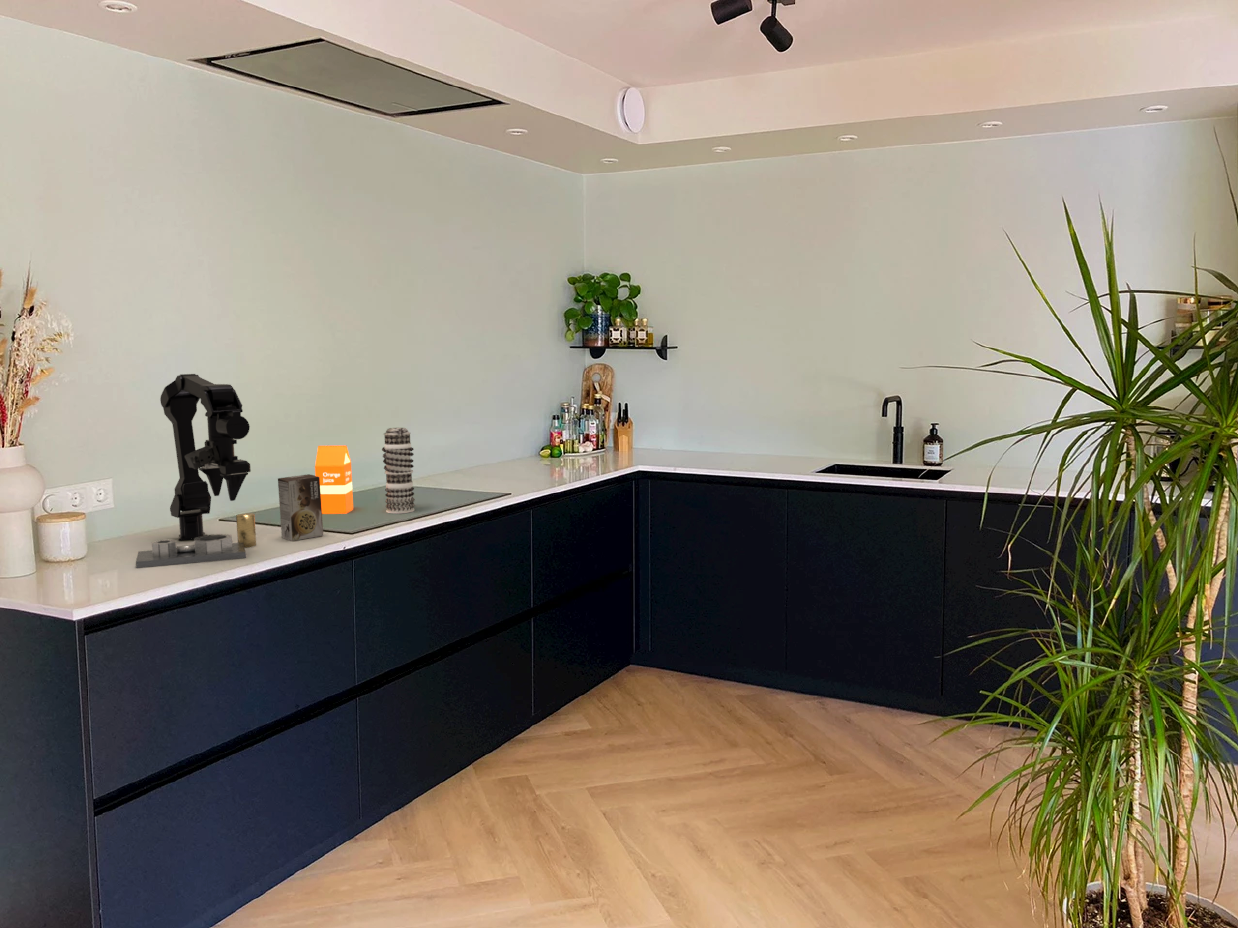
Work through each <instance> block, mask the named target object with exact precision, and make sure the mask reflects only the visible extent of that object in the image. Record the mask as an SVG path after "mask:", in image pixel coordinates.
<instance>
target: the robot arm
mask: <svg viewBox="0 0 1238 928" xmlns="http://www.w3.org/2000/svg"><path fill="white" fill-rule="evenodd" d="M159 400H160V405H161V407H162V409H163V414H164V415H165V416H166V418H167V419H168V421H170V422H171V424H172V430H173V436H174V446H175V451H176V460H177V468H178V474H179V479H178V481H177V483H176V485H175V487H174V495H173V499H172V502H171V504H170V507H169V511H170V516H171V517H174V518H177V519H178V521H179V534H178V541H188V540H195V538H196V537H200V536H204V535H206V532H204V522H203V515H206V514H207V515H209V514H211V513H210V511H211V504H212V503H211V502H212V495H211V492H210V491H209V485H210V489H211V491H212V494H213V496H214V497H219V496H220V493H221V490H222V486H223V481H224V480H225V483H226V487H227V494H228V496H229V501H231V502H233V501H236V498H237V497H238V494H239V492H240V489H241V487H242V485H243V483H244V481H245V479H246V477H247V476H248V475H249V473H251V471H252V470H251V463H249V461H248V460H246V459H245V460H244V459H242V458H241V459H238V458H239V457H238V456H237V455H235V445H237V444H238V441H237V440H242V439H243V438H246V437H247V436H248V434H249V432H250V427H251V426H250V424H249V421H248V420H247V419H246V418H245V417H244V416H242V415H241V414H242V413H243V404H242V402H241V400H240V398H239V395H238V394H237V392H236V390H235V389H234V386H232V384H230V383H229V384H228V383H227V384H225V383H223V384H221V383H217V384H216V383H213V382H211V381H209V380H207V379H205V378H202V377H200V376H199V374H196V373H187V374H185V373H184V374H183V373H182V374H179V375H176V377H175V380H174V381H172V382H171V383H169V384H167V385H166V386H165V387H164V388H163V390H162V392H161V394H160V399H159ZM199 402H200V405H202V406H203V407H204V409H205V411H206V412H205V413H204V416H205V417H207V435H208V437H207V438H208V439H205V441H204V446H203V447H200V448H198V449H196V443H195V436H194V429H193V428H194V427H193V419H194V418H195V416H196V414H197V411H198V407H197V405H198V403H199ZM200 472H202V473H203V474H204V475H206V478H207V479H208V483H209V484H208V483H207V481H206V480H203V479H202V477H201V476H200V474H199V473H200Z"/></svg>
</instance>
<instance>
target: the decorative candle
mask: <svg viewBox="0 0 1238 928" xmlns="http://www.w3.org/2000/svg"><path fill="white" fill-rule="evenodd" d="M383 435H384V446H383V447H382V448H381V451H382V452H383V454H382V458H384V459H383V460H382V462H383V464H385V465H384V467H383V469H384V474H385V477H386V480H385V481H386V482H385V490H384V491H385V492H386V494H384V495H385V497H386V499H385V501H384V502H385V503H386V504H385V508H386V513H387V514H397V515H398V514H407V513H413V512H415V508H414V507H415V506H416V504H415V503H414V502H415V501H416V500H415V498H414V497H413V496H414V495H415V492H413V491H414V490H415V488H414V487H413V486H414V485H413V480H412V479H413V477H412V474H413V473H414V470H413V469H412V468H414V467H415V466H414V465H413V464H412V463H414V459H412V458H411V457H413V456H414V452H412V451H414V447H412V442H411V432H410V431H409V430H408V428H406V427H388V428H386V430H385V432H384V433H383Z"/></svg>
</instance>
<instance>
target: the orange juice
mask: <svg viewBox="0 0 1238 928" xmlns="http://www.w3.org/2000/svg"><path fill="white" fill-rule="evenodd" d="M316 451H317V452H316V458H315V465H314V474H315V475H314V476H318V477H320V493H321V508H322V515H339V514H341V515H343V514H344V515H345V514H346V515H347V514H348V513H350V512H352V511H354V497H353V475H352V460H351V457H350V453H349V449H348V446H347V445H318V446H317V450H316Z"/></svg>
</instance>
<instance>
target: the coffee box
mask: <svg viewBox="0 0 1238 928" xmlns="http://www.w3.org/2000/svg"><path fill="white" fill-rule="evenodd" d="M277 487H278V488H277V489H278V500H279V501H278V502H279V503H278V504H279V516H280V518H279V519H280V530H281V531H280V533H281V538H282V539H283V540H284V539H285V540H287V541H290V542H295V541H300V540H306V539H311V538H318V537H322V536H324V528H323V527H324V525H323V524H324V523H323V514H322V508H321V493H320V477H318V476H315V475H313V474H307V473H306V474H301V475H293V476H286V477H279V478H277Z"/></svg>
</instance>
